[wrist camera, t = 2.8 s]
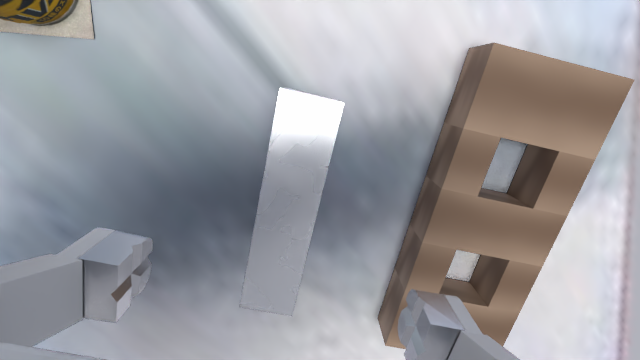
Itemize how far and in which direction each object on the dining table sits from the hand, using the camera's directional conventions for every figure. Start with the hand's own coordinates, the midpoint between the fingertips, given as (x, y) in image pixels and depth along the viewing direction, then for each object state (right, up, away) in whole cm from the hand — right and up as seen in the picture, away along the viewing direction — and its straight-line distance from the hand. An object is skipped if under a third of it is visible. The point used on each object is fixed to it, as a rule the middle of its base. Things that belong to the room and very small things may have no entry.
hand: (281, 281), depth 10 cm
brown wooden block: (+13, +1, +14) cm, 19 cm away
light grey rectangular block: (-1, +4, +13) cm, 14 cm away
